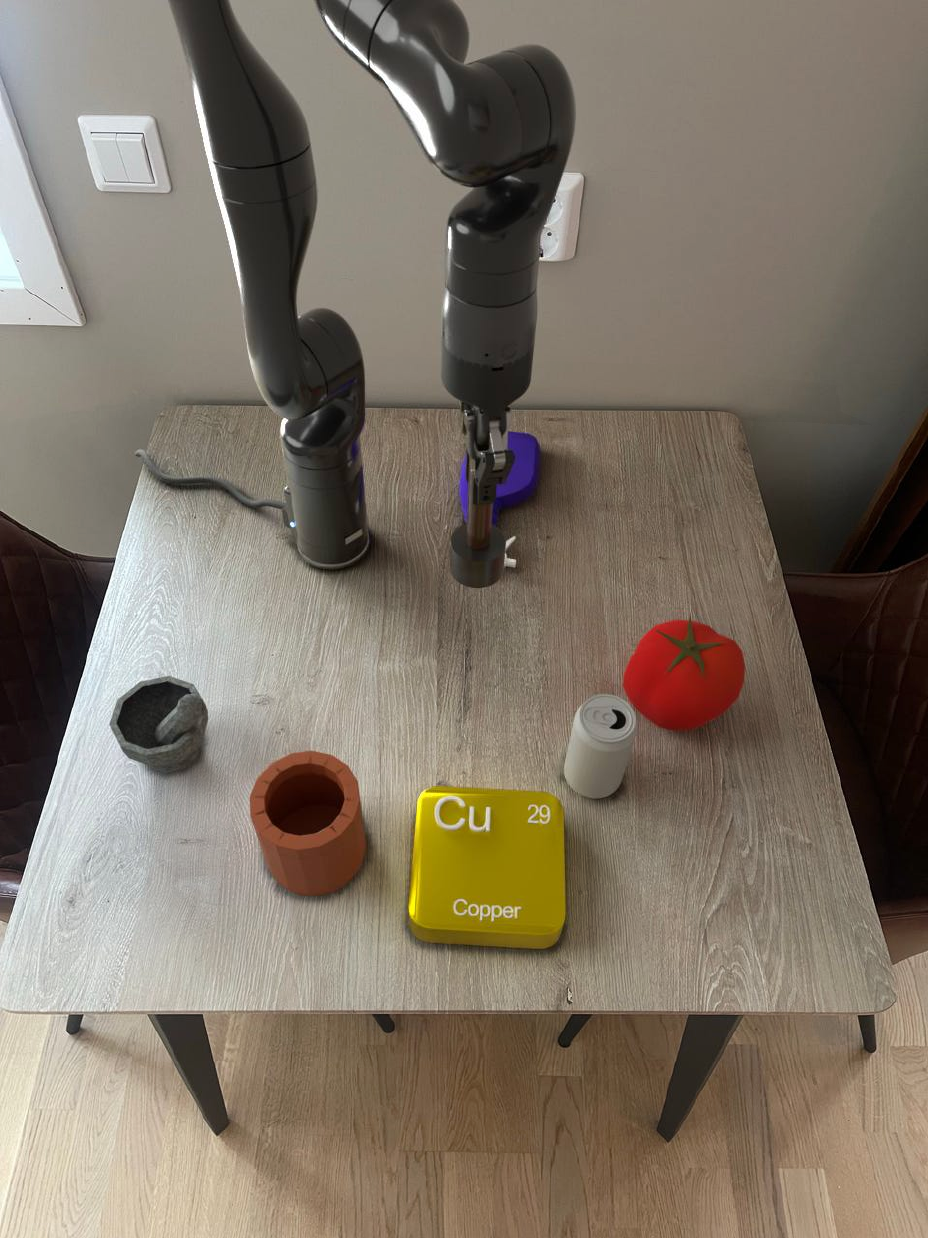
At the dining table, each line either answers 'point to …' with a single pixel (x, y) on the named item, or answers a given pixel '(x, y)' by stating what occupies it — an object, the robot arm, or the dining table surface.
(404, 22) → the robot arm
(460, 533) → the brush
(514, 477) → the spray bottle
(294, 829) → the jar
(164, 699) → the mortar and pestle
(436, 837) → the element tile
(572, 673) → the dining table surface
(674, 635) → the tomato
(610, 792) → the beverage can
